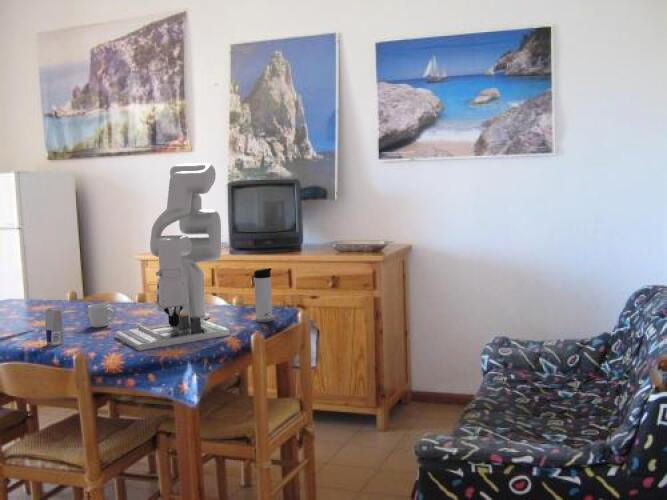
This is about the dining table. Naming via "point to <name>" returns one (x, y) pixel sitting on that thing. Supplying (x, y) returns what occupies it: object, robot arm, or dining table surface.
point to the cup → (100, 315)
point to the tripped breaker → (183, 320)
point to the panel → (170, 334)
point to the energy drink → (54, 326)
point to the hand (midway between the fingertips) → (173, 325)
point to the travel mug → (263, 295)
